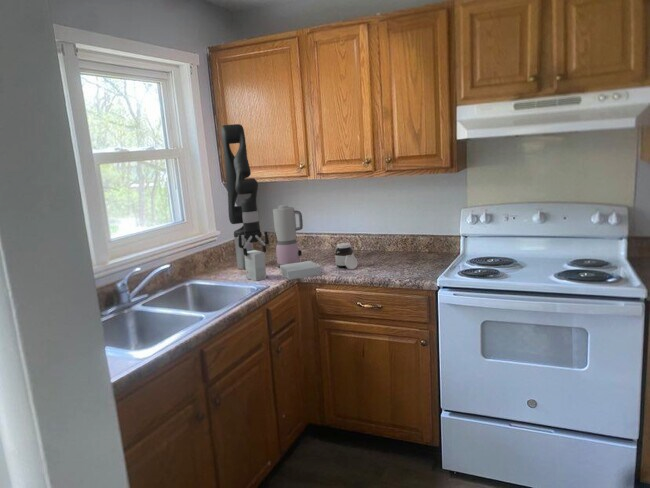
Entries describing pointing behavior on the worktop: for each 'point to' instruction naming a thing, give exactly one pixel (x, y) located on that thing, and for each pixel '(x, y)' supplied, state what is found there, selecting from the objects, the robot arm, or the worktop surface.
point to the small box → (255, 265)
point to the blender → (287, 235)
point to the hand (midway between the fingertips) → (255, 254)
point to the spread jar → (345, 256)
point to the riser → (300, 270)
